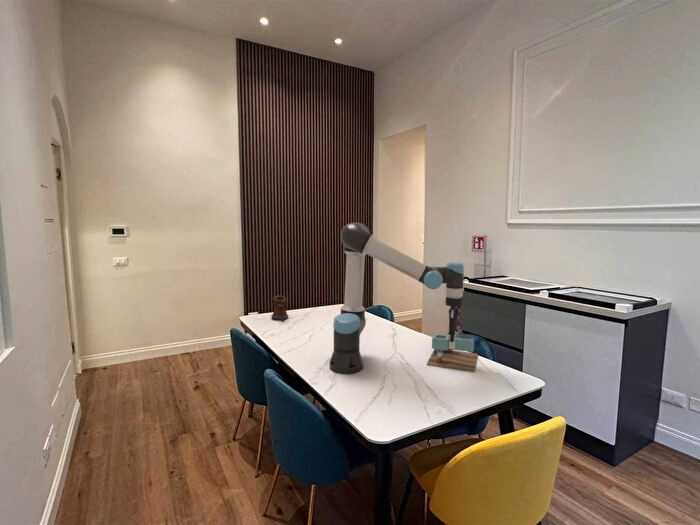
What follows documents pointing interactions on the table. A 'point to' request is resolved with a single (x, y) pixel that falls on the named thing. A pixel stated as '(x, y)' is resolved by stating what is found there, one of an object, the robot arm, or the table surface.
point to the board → (455, 360)
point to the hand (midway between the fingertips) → (452, 346)
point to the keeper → (443, 351)
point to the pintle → (439, 356)
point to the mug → (279, 308)
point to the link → (460, 343)
